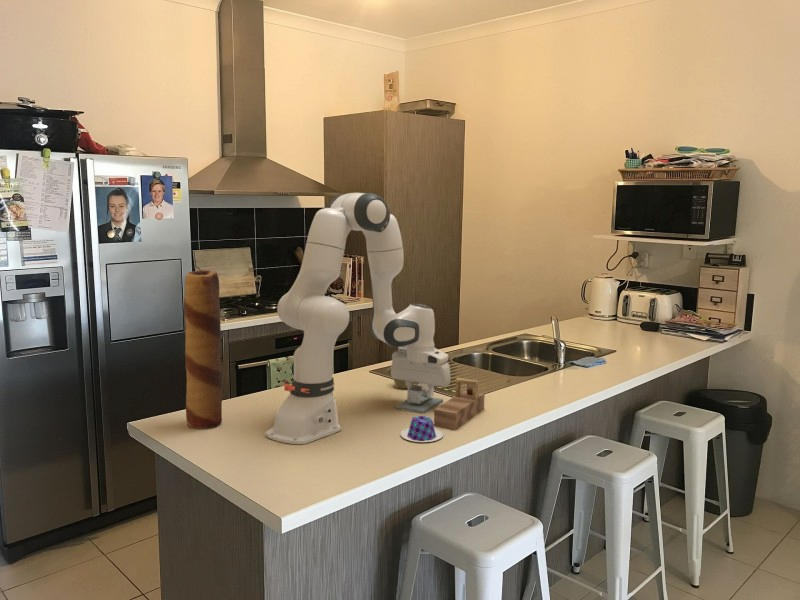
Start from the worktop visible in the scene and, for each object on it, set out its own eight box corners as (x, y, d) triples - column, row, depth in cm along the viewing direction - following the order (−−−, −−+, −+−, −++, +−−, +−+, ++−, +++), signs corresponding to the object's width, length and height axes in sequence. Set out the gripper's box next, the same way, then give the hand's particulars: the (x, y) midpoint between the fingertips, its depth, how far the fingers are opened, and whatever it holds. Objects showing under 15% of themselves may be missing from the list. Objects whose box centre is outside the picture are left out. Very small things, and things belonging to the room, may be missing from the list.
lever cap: (419, 403, 207) (419, 389, 206) (407, 401, 209) (407, 387, 208) (433, 395, 216) (433, 381, 215) (421, 393, 218) (421, 379, 217)
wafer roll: (231, 419, 196) (226, 270, 189) (211, 431, 186) (205, 274, 179) (200, 416, 199) (195, 269, 192) (179, 427, 189) (173, 272, 182)
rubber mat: (423, 413, 203) (423, 411, 203) (395, 408, 208) (395, 405, 208) (443, 401, 215) (443, 399, 215) (416, 396, 220) (416, 394, 220)
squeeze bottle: (400, 382, 237) (400, 333, 234) (419, 385, 233) (420, 336, 230) (388, 387, 230) (388, 337, 227) (408, 391, 226) (408, 340, 223)
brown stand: (455, 429, 190) (456, 394, 188) (433, 425, 193) (434, 390, 191) (484, 408, 209) (485, 376, 207) (463, 405, 212) (464, 373, 210)
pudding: (451, 440, 183) (451, 422, 182) (414, 447, 177) (414, 429, 176) (428, 426, 193) (428, 409, 192) (392, 433, 187) (393, 415, 186)
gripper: (387, 351, 211) (386, 393, 214) (444, 360, 202) (443, 403, 204) (396, 347, 217) (396, 388, 219) (453, 355, 207) (452, 398, 209)
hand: (419, 395), depth 211 cm, fingers closed on lever cap, 4 cm apart
